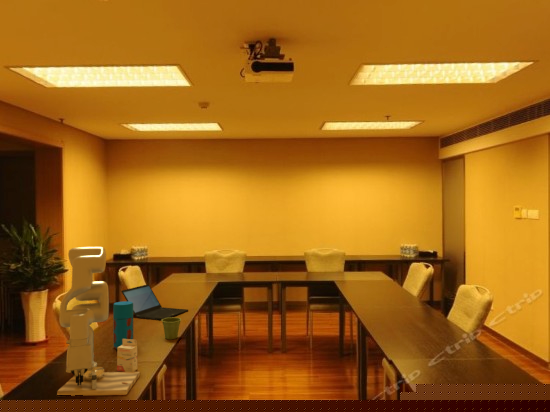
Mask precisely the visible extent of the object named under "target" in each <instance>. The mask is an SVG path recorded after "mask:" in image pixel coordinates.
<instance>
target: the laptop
mask: <svg viewBox="0 0 550 412" xmlns="http://www.w3.org/2000/svg"><path fill="white" fill-rule="evenodd" d="M121 294H122V295H123V298H124V299H125V301H129V302H133V315H135V317H136V318H138V319H145V320H146V319H147V320H157V321H162V319H164V318H172V317H174V318H175V317H176V316H179V315H181V314H184V313H186V312H188V311H189V309H184V308H174V307H173V308H172V307H162V305H161V303H160V302H159V300H158V298H157V295H156V294H155V293H154V291H153V290H152V288H151V287H150V285H149V284H144V285H140V286H139V285H138V286H135V287H132V288H126V289H123V290H121Z"/></svg>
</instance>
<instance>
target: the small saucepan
mask: <svg viewBox="0 0 550 412" xmlns="http://www.w3.org/2000/svg"><path fill="white" fill-rule="evenodd" d="M104 372H105V368H104V367H103V366H96V367H93V369H91V370H88V371H87V372H86V373H85V374H84V375H83V380H86V381H92V389H96V380H99V379H101V378H103V377H104Z"/></svg>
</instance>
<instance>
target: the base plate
mask: <svg viewBox="0 0 550 412" xmlns="http://www.w3.org/2000/svg"><path fill="white" fill-rule="evenodd" d="M78 373H79V385H78V386H77V383H76V376H75V375H74V374H73V376H72V377H71V378H70V379H69V380H68V381H66V383H64V384H63V385H62V386H61V387H60V388H59V389H58V390H57V391H56V392H57V393H56V396H57V395H71V396H72V397H76V396H75V395H83V396H122V395H123V396H125V395H128V393H129V392H130V391H131V389H132V388H133V387H134V385H135V383H136V381H137V380H138V379H139V378H140V374H141V373H140V371H134V372H122V371H109V372H108V371H107V372H106V371H104V377H103V378H101V379H99V380H96V389H92V381H86V380H83V382H81V385H80V373H81V372H78Z"/></svg>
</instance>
